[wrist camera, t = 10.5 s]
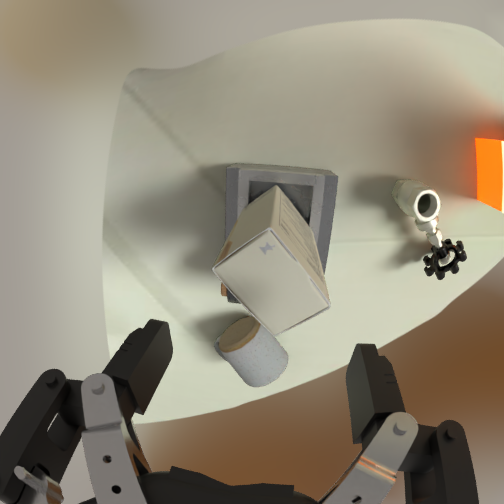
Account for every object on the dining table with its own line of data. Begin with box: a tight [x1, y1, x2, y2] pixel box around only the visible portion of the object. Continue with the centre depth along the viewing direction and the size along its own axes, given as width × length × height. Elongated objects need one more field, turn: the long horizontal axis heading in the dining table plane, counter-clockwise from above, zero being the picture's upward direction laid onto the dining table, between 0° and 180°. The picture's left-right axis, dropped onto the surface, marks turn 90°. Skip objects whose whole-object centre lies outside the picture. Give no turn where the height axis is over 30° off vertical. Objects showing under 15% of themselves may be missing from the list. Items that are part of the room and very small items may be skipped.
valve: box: [391, 179, 467, 280], centre depth 27 cm, size 7×7×12 cm
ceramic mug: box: [214, 317, 288, 387], centre depth 37 cm, size 11×8×8 cm
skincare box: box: [212, 185, 331, 336], centre depth 21 cm, size 6×4×12 cm
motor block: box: [221, 163, 338, 304], centre depth 29 cm, size 11×14×9 cm
